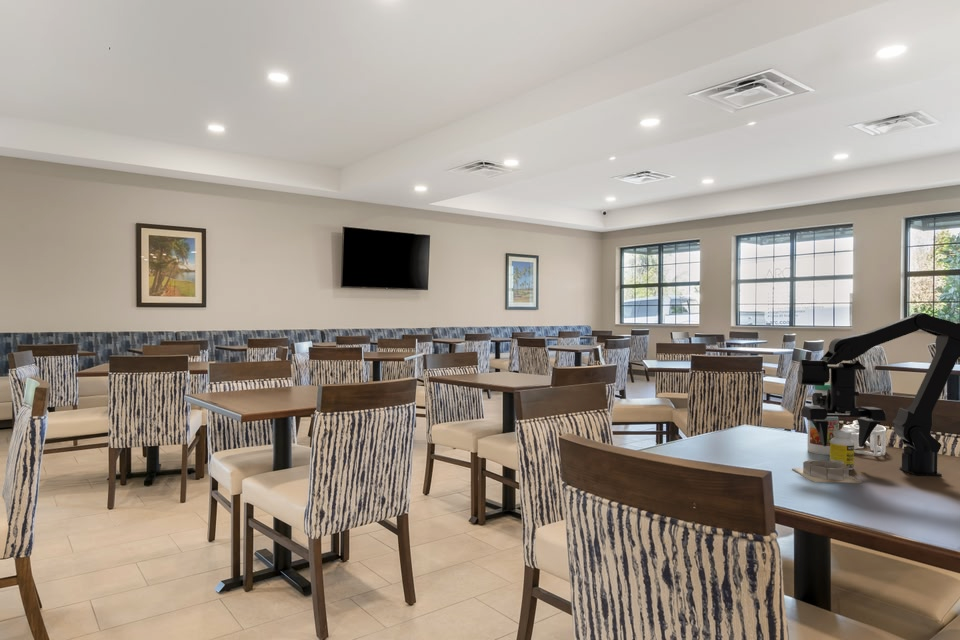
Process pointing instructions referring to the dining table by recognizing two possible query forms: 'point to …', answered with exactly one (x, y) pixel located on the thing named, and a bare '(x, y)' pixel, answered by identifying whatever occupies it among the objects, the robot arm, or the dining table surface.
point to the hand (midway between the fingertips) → (842, 446)
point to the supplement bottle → (842, 448)
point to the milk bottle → (813, 436)
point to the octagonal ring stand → (826, 471)
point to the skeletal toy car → (873, 436)
